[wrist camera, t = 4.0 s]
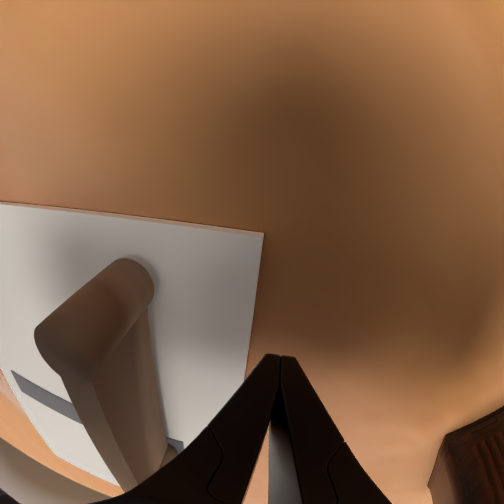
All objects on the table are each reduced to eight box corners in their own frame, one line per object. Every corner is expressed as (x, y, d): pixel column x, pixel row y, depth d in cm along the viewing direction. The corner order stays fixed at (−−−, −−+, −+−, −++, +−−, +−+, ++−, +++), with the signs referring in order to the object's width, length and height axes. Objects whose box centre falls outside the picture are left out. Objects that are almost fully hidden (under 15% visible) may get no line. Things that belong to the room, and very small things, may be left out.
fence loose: (141, 437, 13) (116, 491, 9) (104, 254, 9) (25, 315, 5) (173, 446, 13) (151, 504, 9) (153, 263, 9) (81, 337, 5)
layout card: (56, 452, 20) (54, 455, 19) (-45, 197, 10) (-51, 199, 10) (224, 513, 19) (223, 517, 18) (263, 233, 9) (262, 238, 8)
